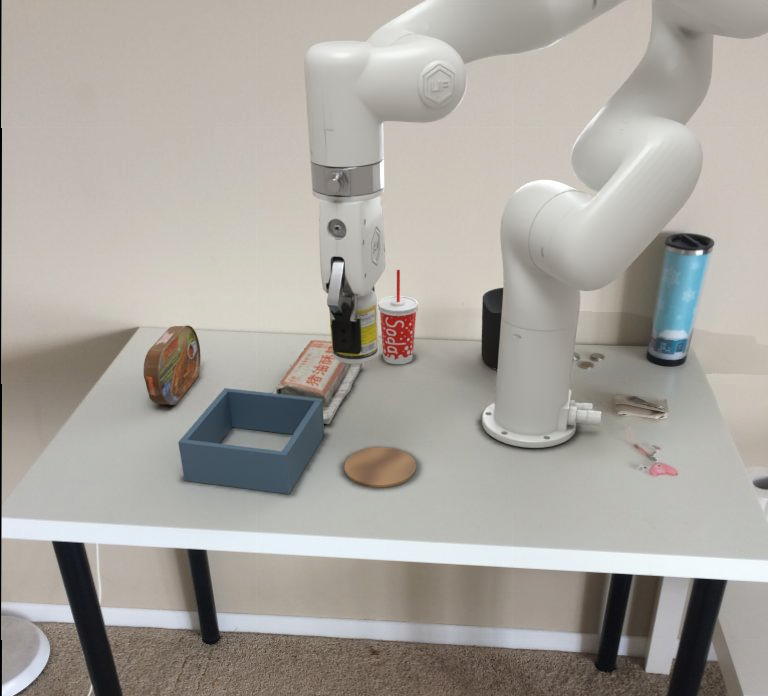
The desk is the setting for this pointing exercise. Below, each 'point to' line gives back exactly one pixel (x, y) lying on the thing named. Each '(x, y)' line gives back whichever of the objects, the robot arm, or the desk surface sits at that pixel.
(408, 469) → the coaster
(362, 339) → the supplement bottle
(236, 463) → the open box
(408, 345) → the beverage cup
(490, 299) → the pen holder
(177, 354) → the tin
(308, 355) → the packaged product
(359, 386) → the desk surface
